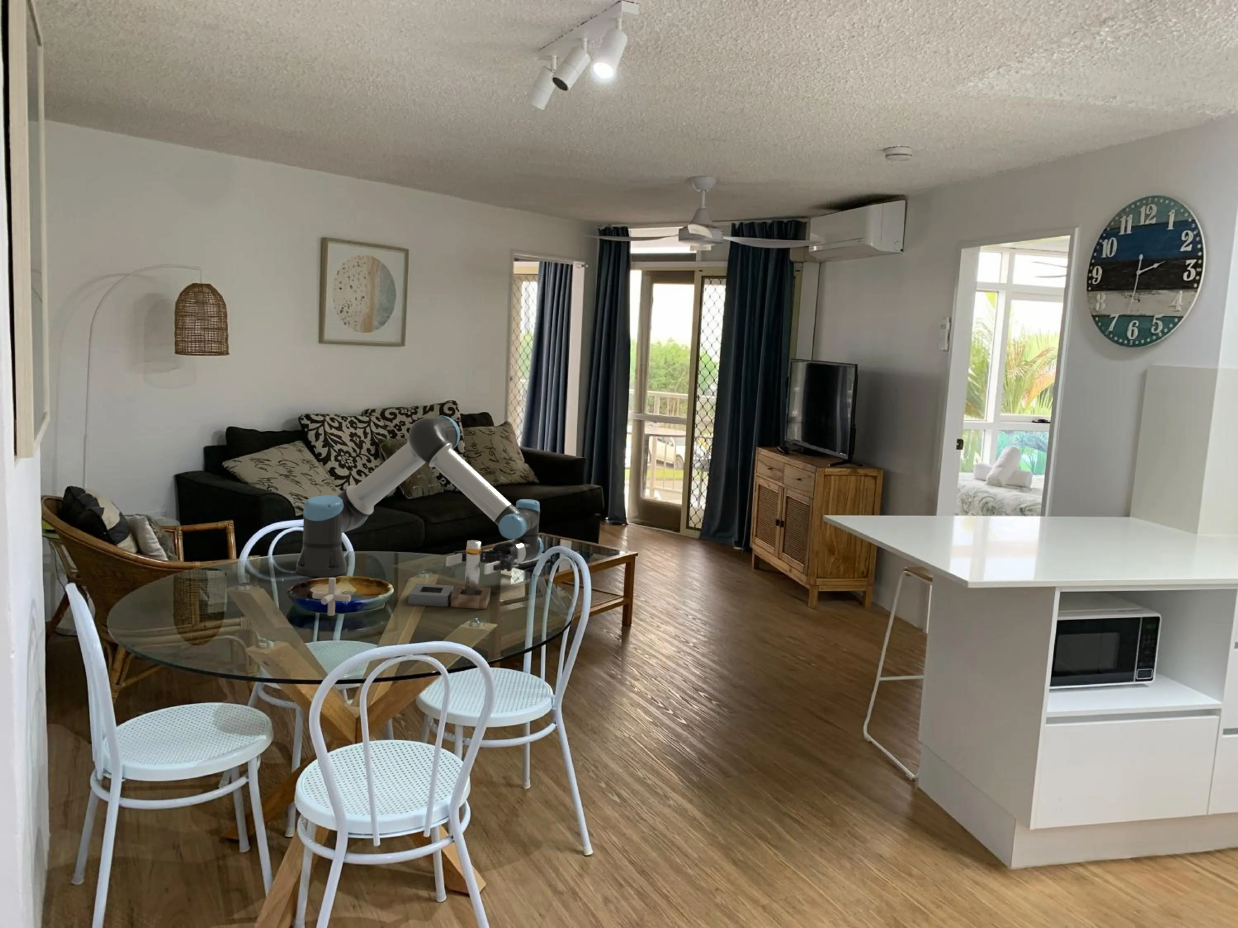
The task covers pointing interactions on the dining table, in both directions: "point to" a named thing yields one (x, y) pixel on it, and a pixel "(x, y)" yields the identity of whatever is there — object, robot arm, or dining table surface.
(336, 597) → the pipe connector
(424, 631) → the dining table surface
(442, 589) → the socket block
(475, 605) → the block
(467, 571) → the silver banded cylinder
